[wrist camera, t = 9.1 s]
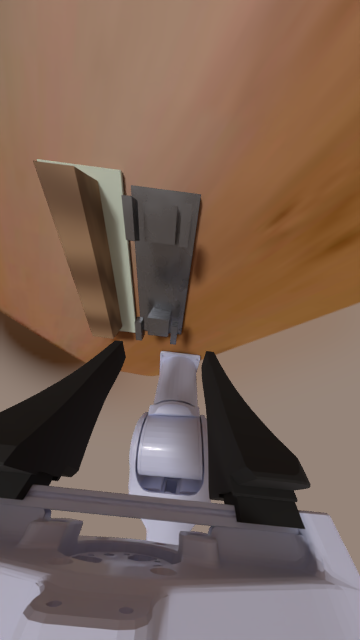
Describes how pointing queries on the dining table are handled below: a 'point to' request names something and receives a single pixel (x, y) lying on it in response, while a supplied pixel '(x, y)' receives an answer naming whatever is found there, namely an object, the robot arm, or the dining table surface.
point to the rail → (83, 242)
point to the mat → (114, 237)
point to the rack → (161, 255)
